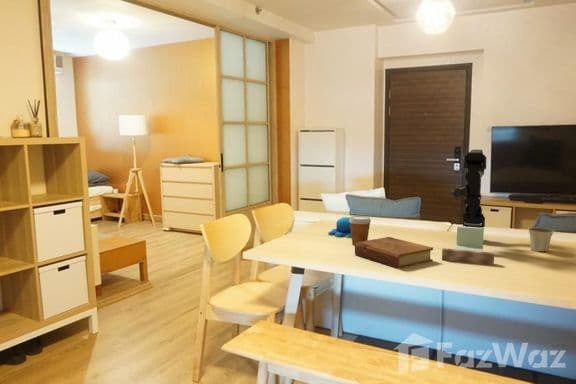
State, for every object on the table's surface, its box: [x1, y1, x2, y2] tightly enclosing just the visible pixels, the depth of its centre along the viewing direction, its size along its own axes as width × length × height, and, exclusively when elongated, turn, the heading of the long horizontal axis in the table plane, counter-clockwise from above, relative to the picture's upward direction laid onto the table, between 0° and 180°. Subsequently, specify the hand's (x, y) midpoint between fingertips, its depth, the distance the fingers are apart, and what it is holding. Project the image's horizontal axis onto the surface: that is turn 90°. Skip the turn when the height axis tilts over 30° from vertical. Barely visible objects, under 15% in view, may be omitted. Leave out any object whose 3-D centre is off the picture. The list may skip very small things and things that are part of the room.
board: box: [441, 247, 495, 266], centre depth 172 cm, size 18×2×4 cm, turn 66°
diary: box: [354, 236, 434, 269], centre depth 178 cm, size 23×19×6 cm
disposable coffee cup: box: [349, 215, 372, 247], centre depth 200 cm, size 10×10×12 cm
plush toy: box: [327, 216, 352, 239], centre depth 222 cm, size 17×17×8 cm
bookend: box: [454, 225, 485, 252], centre depth 184 cm, size 12×10×10 cm
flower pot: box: [527, 227, 555, 252], centre depth 188 cm, size 9×9×9 cm
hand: (472, 218), depth 196 cm, fingers closed
